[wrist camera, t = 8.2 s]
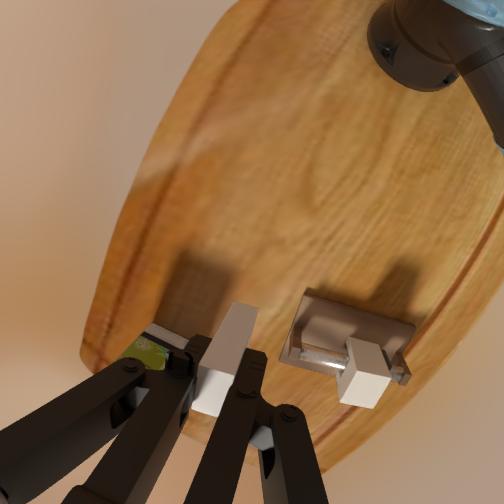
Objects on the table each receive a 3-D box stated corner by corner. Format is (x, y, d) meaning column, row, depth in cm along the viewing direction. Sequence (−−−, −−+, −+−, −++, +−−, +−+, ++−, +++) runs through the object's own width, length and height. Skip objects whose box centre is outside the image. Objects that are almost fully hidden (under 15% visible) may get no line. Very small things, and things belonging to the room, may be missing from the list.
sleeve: (348, 336, 42) (357, 370, 34) (378, 344, 42) (391, 378, 34) (334, 365, 44) (339, 402, 36) (363, 372, 44) (372, 408, 35)
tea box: (150, 320, 50) (106, 366, 36) (204, 345, 50) (173, 401, 36) (136, 379, 55) (100, 427, 40) (182, 402, 54) (154, 455, 40)
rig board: (303, 293, 45) (303, 313, 38) (414, 324, 44) (428, 347, 37) (279, 358, 48) (275, 385, 42) (382, 383, 47) (391, 410, 40)
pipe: (303, 336, 42) (303, 347, 39) (401, 361, 41) (406, 372, 38) (296, 353, 43) (295, 364, 40) (393, 376, 42) (397, 387, 39)
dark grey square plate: (378, 348, 42) (384, 365, 37) (384, 350, 42) (392, 367, 37) (365, 372, 43) (370, 390, 39) (372, 374, 43) (377, 392, 38)
